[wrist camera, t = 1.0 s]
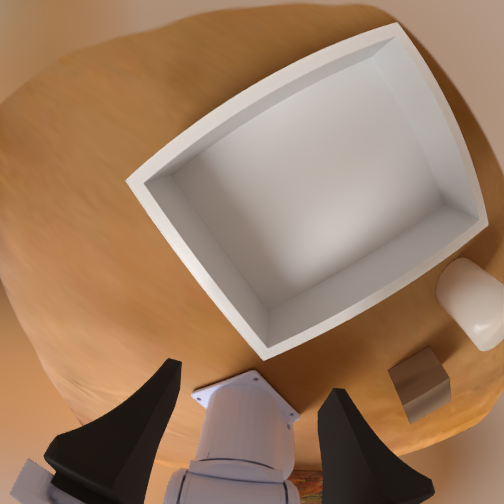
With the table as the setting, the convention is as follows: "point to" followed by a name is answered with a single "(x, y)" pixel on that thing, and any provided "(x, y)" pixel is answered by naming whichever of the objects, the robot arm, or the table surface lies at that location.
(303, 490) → the tin
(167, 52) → the table surface
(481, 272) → the ceramic cylinder
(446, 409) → the table surface
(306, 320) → the tote
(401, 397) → the walnut cube
